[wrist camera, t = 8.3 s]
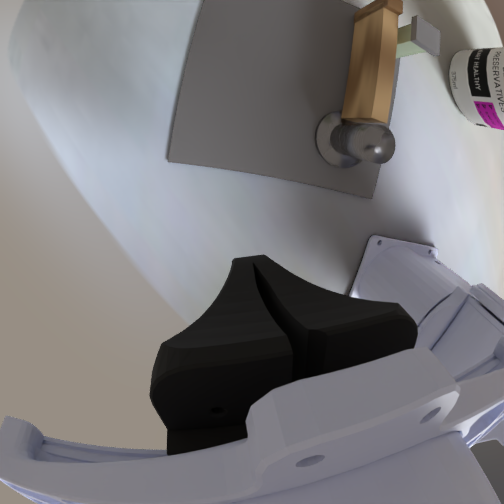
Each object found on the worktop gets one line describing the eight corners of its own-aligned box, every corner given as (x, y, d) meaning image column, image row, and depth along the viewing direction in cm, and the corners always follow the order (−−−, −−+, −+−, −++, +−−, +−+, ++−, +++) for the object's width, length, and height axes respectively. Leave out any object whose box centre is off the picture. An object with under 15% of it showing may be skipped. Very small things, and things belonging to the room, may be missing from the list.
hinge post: (369, 120, 19) (412, 122, 14) (357, 172, 21) (398, 187, 16) (319, 103, 18) (355, 97, 13) (307, 159, 20) (339, 170, 15)
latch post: (392, 44, 16) (440, 31, 11) (390, 65, 17) (439, 55, 12) (371, 33, 16) (417, 15, 10) (368, 54, 17) (416, 39, 11)
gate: (353, 122, 18) (391, 123, 14) (340, 118, 18) (375, 117, 14) (367, 18, 15) (402, 1, 10) (354, 12, 14) (388, -7, 10)
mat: (400, 31, 16) (402, 30, 15) (370, 198, 22) (371, 199, 21) (214, -30, 12) (214, -31, 12) (168, 161, 18) (167, 161, 18)
